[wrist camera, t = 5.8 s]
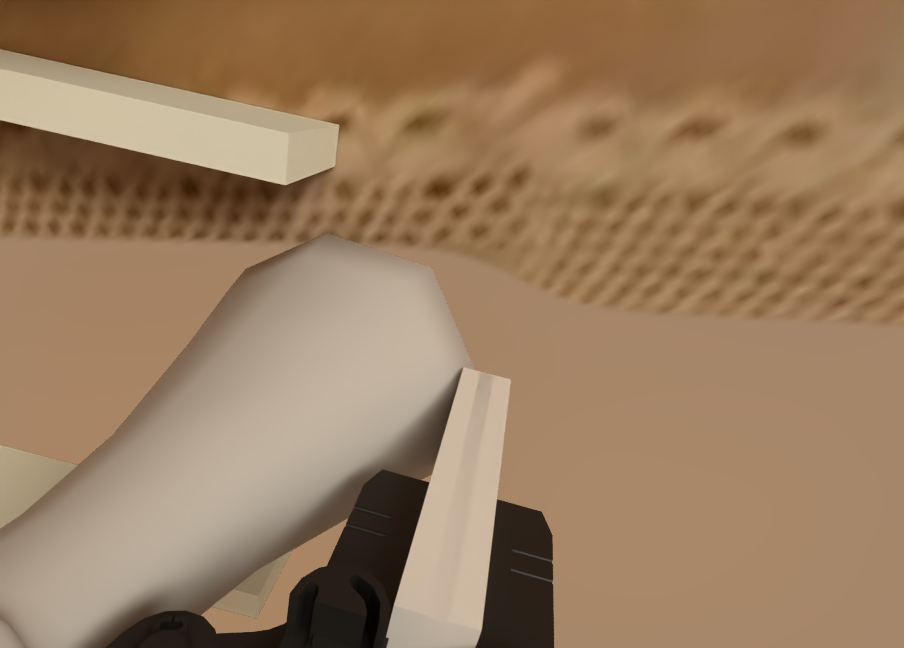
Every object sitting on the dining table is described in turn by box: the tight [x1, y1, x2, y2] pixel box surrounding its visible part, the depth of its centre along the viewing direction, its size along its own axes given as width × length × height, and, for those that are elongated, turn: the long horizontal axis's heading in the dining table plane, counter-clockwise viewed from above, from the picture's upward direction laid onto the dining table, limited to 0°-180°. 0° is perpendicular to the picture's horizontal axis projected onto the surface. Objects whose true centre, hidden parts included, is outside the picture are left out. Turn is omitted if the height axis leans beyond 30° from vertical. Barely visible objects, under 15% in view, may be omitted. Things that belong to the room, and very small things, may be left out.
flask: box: [0, 233, 475, 648], centre depth 10 cm, size 7×7×10 cm
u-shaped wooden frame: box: [0, 49, 339, 619], centre depth 15 cm, size 14×14×3 cm
